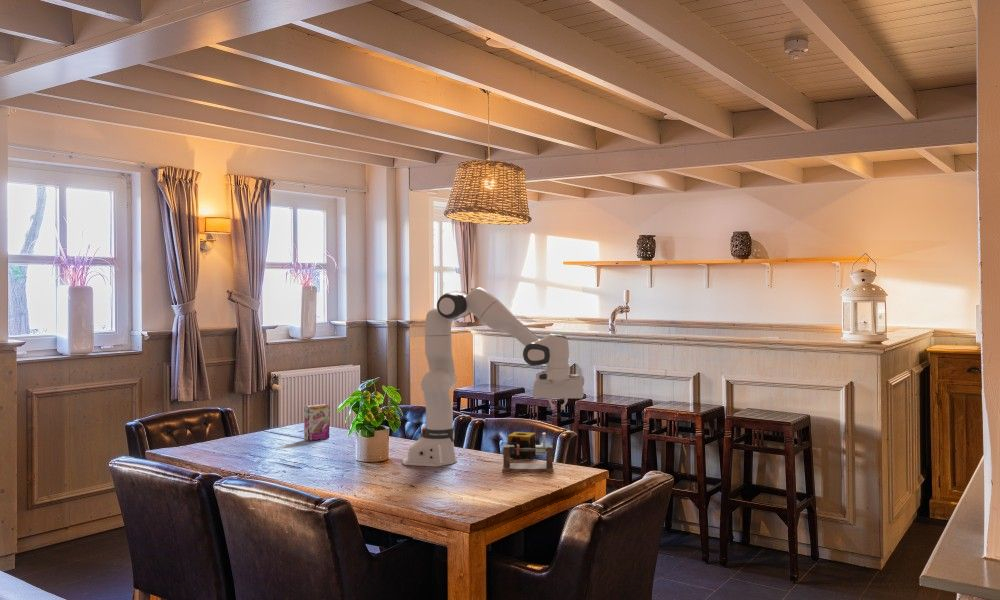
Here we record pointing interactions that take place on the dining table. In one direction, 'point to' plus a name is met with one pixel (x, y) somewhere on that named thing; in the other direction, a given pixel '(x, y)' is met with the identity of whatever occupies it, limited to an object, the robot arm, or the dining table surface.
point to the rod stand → (527, 466)
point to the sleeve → (541, 446)
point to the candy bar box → (316, 422)
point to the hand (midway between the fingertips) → (558, 409)
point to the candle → (522, 444)
